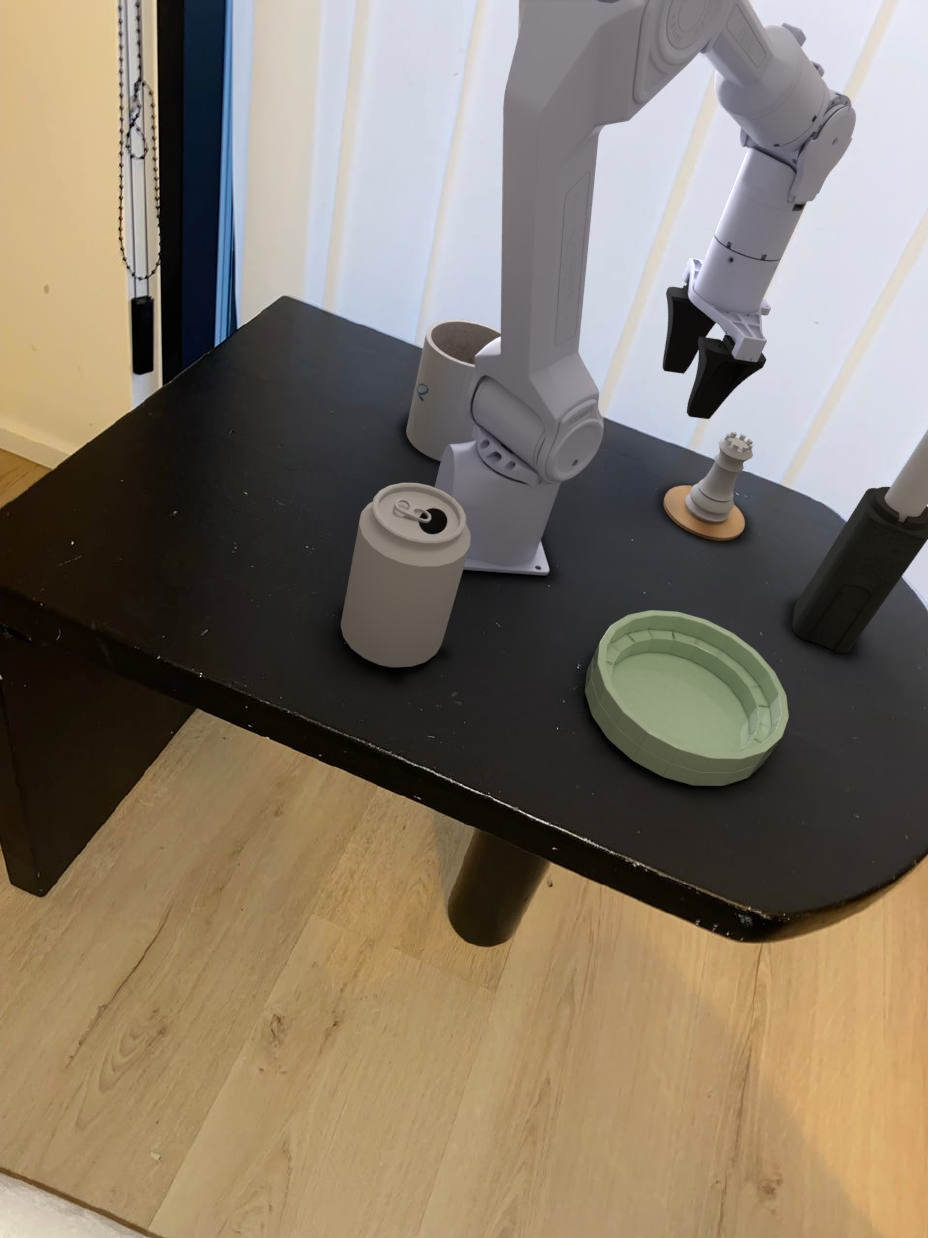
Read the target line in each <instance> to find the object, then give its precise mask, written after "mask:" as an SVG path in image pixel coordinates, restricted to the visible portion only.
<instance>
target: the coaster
mask: <svg viewBox="0 0 928 1238" xmlns="http://www.w3.org/2000/svg"><path fill="white" fill-rule="evenodd" d="M693 486H694V485H689V484H688V485H687V484H686V485H678V486H674V487H672V488H670V489H669V490H668V491H667V492H666V493H665V495H664V498H663V508H664V510H665V513H666V514H667V515H668V517H669V518H670V519H671V520H672V521H673V523H675V524H676V525H677V526H679V527H680V528H681V529H683V530H685V531H686V532H688V533H690V534H691V535H694V536H697V537H700V538H703V539H706V540H710V541H718V542H719V541H720V542H725V541H731V540H734V539H737V538H738V537H740V535H742V533H743V531H744V529H745V526H746V521H745V517H744V515H743V513H742V512H741V510H740V509H739V508H738V506H736V505H735V504H734V505H733V508H732V510H731V511H730V516H729V517H728V519H726V520H724V521H721V522H719V523H710V522H706V521H703V520H700V519H698V518H696V517H695V516H694V515H693V514H691V513H690V511H689V510H688V508H687V505H686V499H685V498H686V497H687V495H688V494H690V490H691V488H692V487H693Z"/></svg>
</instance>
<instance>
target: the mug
mask: <svg viewBox="0 0 928 1238" xmlns="http://www.w3.org/2000/svg"><path fill="white" fill-rule="evenodd" d="M500 336H501V330H499V329H497V328H495V327H493V326H490V325H488V324H485V323H482V322H479V321H475V320H468V319H459V318H458V319H455V318H454V319H452V318H450V319H442V320H439V321H436V322H433V323H432V324H430V326H428V328H427V329H426V330H425V337H424V342H423V346H422V351H421V356H420V361H419V364H418V365H419V366H418V370H417V375H416V380H415V386H414V389H413V390H414V391H413V395H412V400H411V404H410V405H411V406H410V410H409V415H408V420H407V425H406V437H407V439H408V440H409V443H411V445H412V446H413V447H414V448H415V449H416V450H418V451H419V452H420V453H422V454H423V455H425V456H426V457H428V458H431V459H433V460H436V461H438V462H441V459H442V455H443V452H444V450H445V448H446V446H447V445H449V444H461V443H468V442H471V441H475V439H474V438H473V437H472V434H473V430H474V426H475V423H474V422H473V421H472V420H471V419H470V418H469V417H468V414H467V412H466V397H467V393H468V389H469V386H470V384H471V382H472V379H473V375H474V367H475V356H476V355H477V354H478V353H479V352H480V351H481V350H482V349H483V348H484V347H485V346H486V345H487V344H489V343H490V342H492V341H493V340H495V339H496V338H498V337H500Z"/></svg>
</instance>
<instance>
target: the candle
mask: <svg viewBox="0 0 928 1238" xmlns="http://www.w3.org/2000/svg"><path fill="white" fill-rule="evenodd" d="M927 542H928V429H926V432H924V435H923V436H922V437H921V438H920V441H919V442H918V444H917V445H916V447H915V449H914V450H913V452H912V453H911V454H910V456H909V457H908V459H907V460H906V463H905V464H904V465H903V467H902V469H901V470H900V472H899V474H898V475H897V476H896V478H895V479H894V481H893V482H892V484H891V485H890V486H880V487H870V488H868V489H866V490H865V492H864V494H863V495H862V497H861V498H860V500H859V501H858V503H857V505H856V507H855V508H854V509H853V511H852V513H851V515H850V516H849V517H848V519H847V521H846V522H845V524H844V525H843V528H842V529H841V530H840V532H839V533H838V535H837V537H836V539H835V540H834V542H833V543H832V545H831V547H830V548H829V550H828V551H827V553H826V554H825V556H824V558H823V560H822V561H821V563H820V564H819V566H818V568H817V569H816V571H815V573H814V574H813V576H812V578H811V579H810V580H809V582H808V584H807V585H806V587H805V588H804V590H803V591H802V593H801V595H800V597H799V598H798V600H797V601H796V603H795V605H794V607H793V614H792V615H793V616H792V624H791V627H792V631H793V633H794V634H795V635H796V636H797V637H798V638H800V639H802V640H804V641H809V642H812V643H814V644H818V645H819V646H823V647H824V648H828V649H831V650H832V651H833V652H835V653H837V654H847V653H849V652H850V650H851V649H852V648H853V646H854V645H855V643H856V642H857V640H859V638H860V636H861V635H862V633H863V632H864V631H865V630H866V628H867V626H868V625H869V623H870V622H871V621H872V620H873V618H874V616H876V614H877V612H878V611H879V609H880V608H881V607H882V605H883V604H884V603H885V601H886V600H887V598H888V597H889V595H890V594H891V592H892V591H893V590H894V589H895V587H896V585H897V584H898V582H899V581H900V580H901V578H902V577H903V576H904V574H905V573H906V571H907V570H908V569H909V567H910V565H911V564H912V562H914V560H915V559H916V557H917V556H918V554H919V553H920V551H921V550H922V548H924V546H925V544H926V543H927Z"/></svg>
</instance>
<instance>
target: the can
mask: <svg viewBox="0 0 928 1238" xmlns="http://www.w3.org/2000/svg"><path fill="white" fill-rule="evenodd" d="M470 538H471V534H470V532H469V529H468V527H467V525H466V515H465V513H464V510H463V508H462V507H461V506H460V504H459V503H458V502H457V501H456V500H455V499H454V498H453V497H451V496H450V495H448V494H447V493H445V492H444V491H442V490H439V489H437V488H435V486H431V485H428V484H424V483H420V482H400V483H395V484H390V485H387V486H386V487H384V488H382V489H380V490H379V491H378V492H377V493H376V495H374V497H373V499H372V501H371V502H369V503H368V504H367V505H366V506H365V508H364V509H362V511H361V513H360V516H359V522H358V526H357V533H356V538H355V543H354V548H353V555H352V560H351V565H350V571H349V575H348V576H349V577H348V582H347V587H346V592H345V593H346V594H345V598H344V603H343V604H344V605H343V610H342V614H341V615H342V616H341V621H340V629H341V633H342V637H343V639H344V640H345V642H346V643H347V644H348V646H349V647H350V648H351V650H353V651H354V652H355V653H357V654H358V655H359V656H360V657H362V658H363V659H365V660H367V661H369V662H372V663H374V664H376V665H378V666H383V667H387V668H408V667H409V668H410V667H414V666H417V665H420V664H424V663H426V662H427V661H429V660H431V659H432V658H433V657H434V656H436V654H437V653H438V652H439V650H440V648H441V646H442V644H443V641H444V637H445V634H446V630H447V628H448V623H449V620H450V617H451V614H452V610H453V607H454V603H455V599H456V596H457V592H458V589H459V586H460V582H461V580H462V579H461V578H462V575H463V571H464V570H463V568H464V565H465V561H466V558H467V554H468V551H469V547H470Z"/></svg>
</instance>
